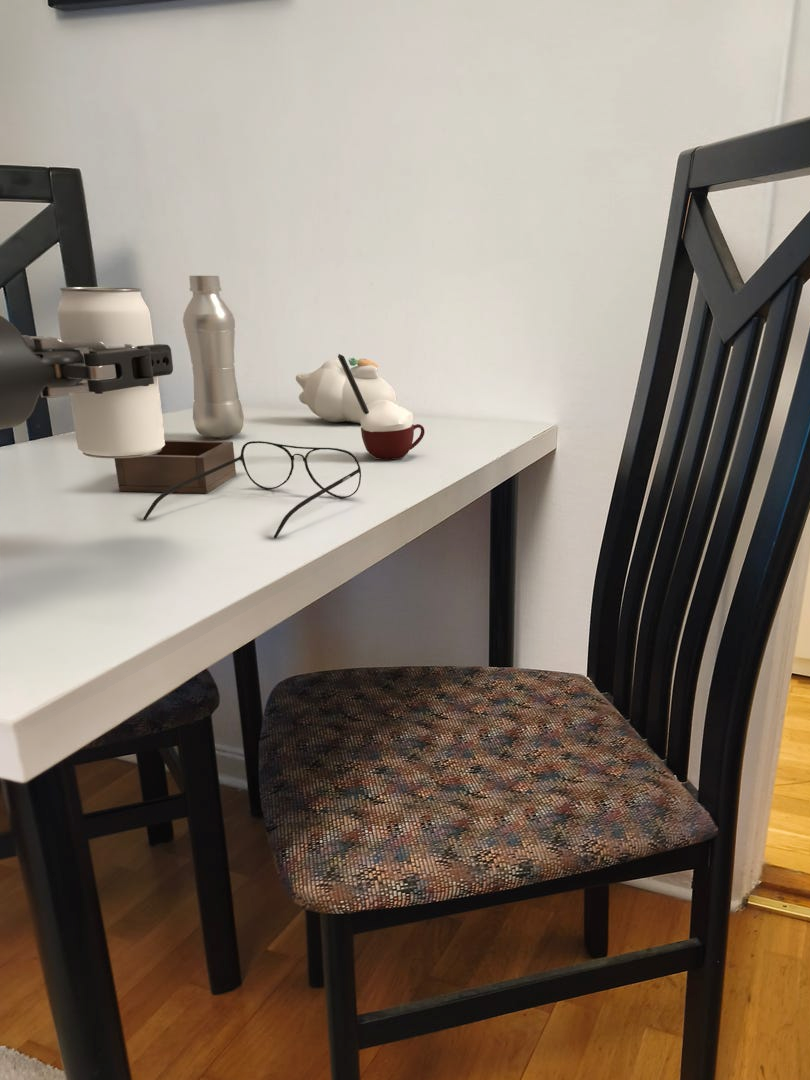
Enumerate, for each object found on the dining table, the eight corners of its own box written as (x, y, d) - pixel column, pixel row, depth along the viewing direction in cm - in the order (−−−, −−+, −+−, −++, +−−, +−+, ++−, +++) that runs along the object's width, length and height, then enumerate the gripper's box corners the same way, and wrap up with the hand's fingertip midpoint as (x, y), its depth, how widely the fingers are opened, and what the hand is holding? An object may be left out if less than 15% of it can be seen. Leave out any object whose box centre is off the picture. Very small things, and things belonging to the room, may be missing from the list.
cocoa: (425, 452, 110) (424, 351, 105) (421, 462, 104) (419, 355, 100) (349, 451, 110) (344, 350, 106) (340, 461, 104) (335, 355, 100)
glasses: (366, 500, 87) (361, 450, 85) (279, 557, 75) (270, 501, 73) (246, 486, 92) (238, 438, 90) (146, 537, 80) (134, 484, 78)
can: (147, 441, 74) (128, 287, 70) (179, 453, 70) (161, 289, 65) (67, 449, 71) (41, 286, 66) (94, 462, 66) (69, 289, 61)
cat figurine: (401, 356, 128) (300, 341, 129) (389, 391, 123) (284, 376, 124) (403, 408, 136) (308, 394, 137) (391, 444, 131) (292, 429, 132)
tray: (118, 491, 90) (113, 455, 88) (155, 472, 98) (151, 439, 97) (207, 493, 89) (203, 457, 88) (236, 474, 98) (233, 441, 96)
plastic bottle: (184, 440, 117) (165, 275, 109) (213, 431, 123) (197, 275, 115) (228, 443, 115) (211, 276, 107) (255, 434, 121) (241, 275, 113)
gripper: (7, 316, 51) (201, 308, 65) (-155, 308, 57) (57, 302, 71) (29, 447, 54) (211, 412, 68) (-126, 427, 60) (72, 399, 74)
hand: (132, 356), depth 70 cm, fingers closed on can, 6 cm apart
